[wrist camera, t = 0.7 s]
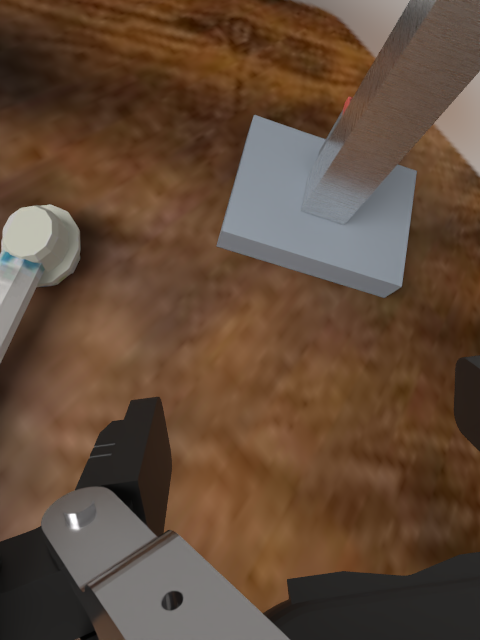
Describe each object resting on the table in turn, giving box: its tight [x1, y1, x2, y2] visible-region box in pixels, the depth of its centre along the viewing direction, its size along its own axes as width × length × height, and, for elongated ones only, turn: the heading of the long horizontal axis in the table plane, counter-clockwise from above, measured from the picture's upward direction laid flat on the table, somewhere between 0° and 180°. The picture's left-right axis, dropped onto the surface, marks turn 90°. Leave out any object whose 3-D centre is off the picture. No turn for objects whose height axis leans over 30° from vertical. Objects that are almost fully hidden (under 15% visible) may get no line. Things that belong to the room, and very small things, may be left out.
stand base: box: [217, 97, 417, 298], centre depth 38 cm, size 16×12×10 cm
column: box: [301, 0, 480, 225], centre depth 29 cm, size 6×5×23 cm
